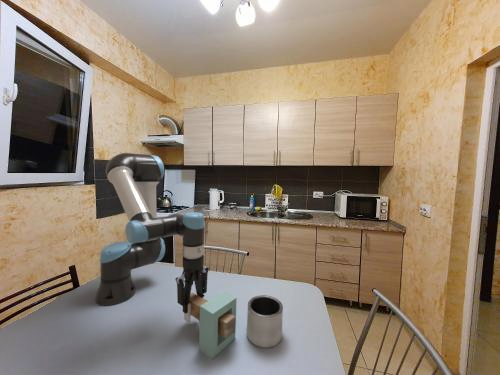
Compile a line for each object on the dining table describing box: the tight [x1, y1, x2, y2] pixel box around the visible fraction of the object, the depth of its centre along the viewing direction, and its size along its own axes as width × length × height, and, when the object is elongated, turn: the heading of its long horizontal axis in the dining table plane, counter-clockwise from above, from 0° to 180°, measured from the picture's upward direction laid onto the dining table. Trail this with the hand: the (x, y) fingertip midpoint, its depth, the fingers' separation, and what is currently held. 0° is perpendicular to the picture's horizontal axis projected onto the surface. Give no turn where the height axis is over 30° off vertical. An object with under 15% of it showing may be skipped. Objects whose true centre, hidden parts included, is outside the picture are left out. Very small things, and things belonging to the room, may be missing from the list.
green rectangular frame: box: [198, 291, 237, 360], centre depth 71 cm, size 6×11×14 cm, turn 143°
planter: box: [246, 294, 284, 348], centre depth 75 cm, size 13×13×11 cm
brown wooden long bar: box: [189, 291, 235, 339], centre depth 74 cm, size 22×4×5 cm, turn 53°
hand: (192, 316), depth 79 cm, fingers closed on brown wooden long bar, 4 cm apart
